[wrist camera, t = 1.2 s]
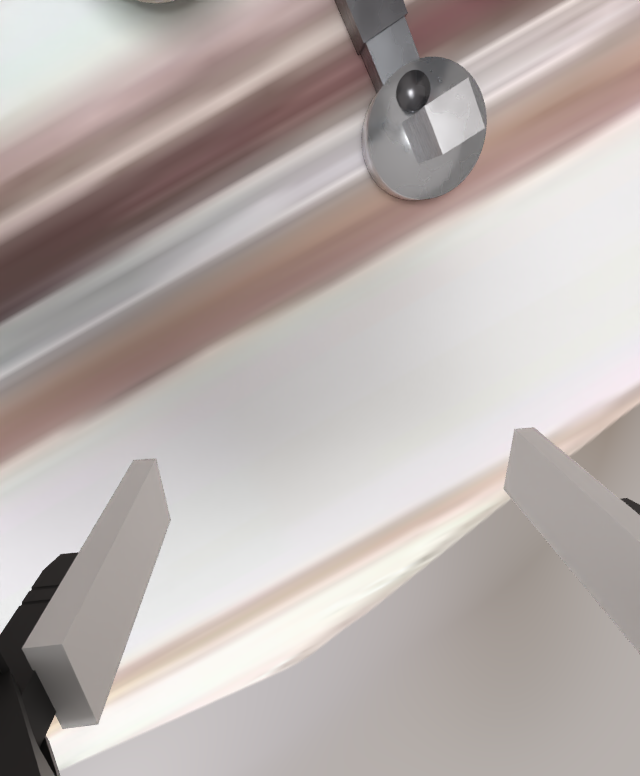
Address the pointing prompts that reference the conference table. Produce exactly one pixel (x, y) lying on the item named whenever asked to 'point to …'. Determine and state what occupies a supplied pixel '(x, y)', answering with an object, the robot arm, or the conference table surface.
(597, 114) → the conference table surface
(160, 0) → the teacup
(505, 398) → the conference table surface
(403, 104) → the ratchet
